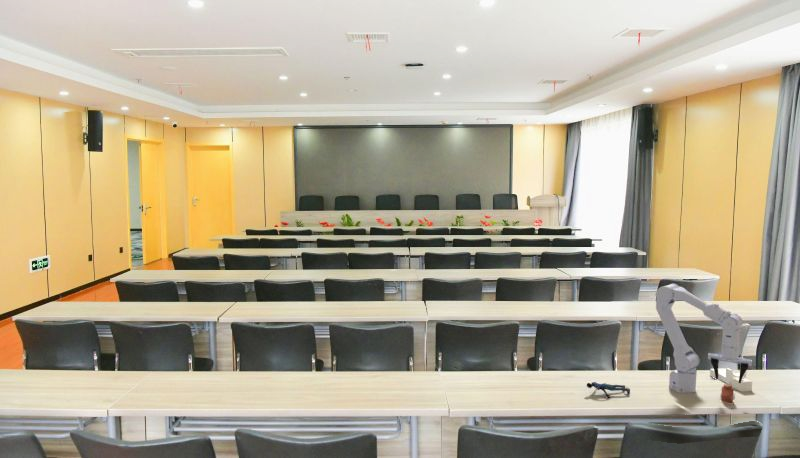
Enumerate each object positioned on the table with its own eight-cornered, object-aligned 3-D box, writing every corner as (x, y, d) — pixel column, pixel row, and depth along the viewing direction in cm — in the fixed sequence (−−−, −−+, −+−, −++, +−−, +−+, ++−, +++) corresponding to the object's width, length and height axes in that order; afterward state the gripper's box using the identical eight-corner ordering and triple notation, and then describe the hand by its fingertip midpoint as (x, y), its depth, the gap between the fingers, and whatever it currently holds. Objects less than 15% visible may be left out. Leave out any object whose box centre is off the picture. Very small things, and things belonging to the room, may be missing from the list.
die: (741, 394, 225) (741, 382, 225) (731, 389, 230) (732, 377, 230) (751, 393, 226) (752, 381, 226) (741, 388, 231) (742, 376, 231)
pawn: (726, 403, 213) (727, 388, 213) (718, 399, 217) (719, 384, 217) (735, 402, 214) (736, 387, 214) (727, 398, 218) (728, 383, 218)
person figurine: (620, 392, 231) (579, 387, 229) (622, 381, 231) (581, 377, 229) (634, 402, 221) (591, 397, 218) (636, 391, 220) (593, 386, 218)
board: (735, 407, 212) (735, 404, 212) (717, 403, 215) (717, 401, 215) (737, 394, 225) (737, 392, 224) (720, 391, 228) (720, 388, 228)
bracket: (745, 387, 233) (746, 369, 232) (729, 387, 233) (730, 370, 232) (725, 376, 246) (726, 359, 245) (709, 376, 245) (710, 359, 245)
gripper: (708, 345, 214) (706, 379, 216) (752, 352, 206) (750, 387, 208) (709, 340, 220) (707, 374, 221) (752, 347, 212) (750, 381, 214)
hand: (728, 380), depth 215 cm, fingers open, 7 cm apart
